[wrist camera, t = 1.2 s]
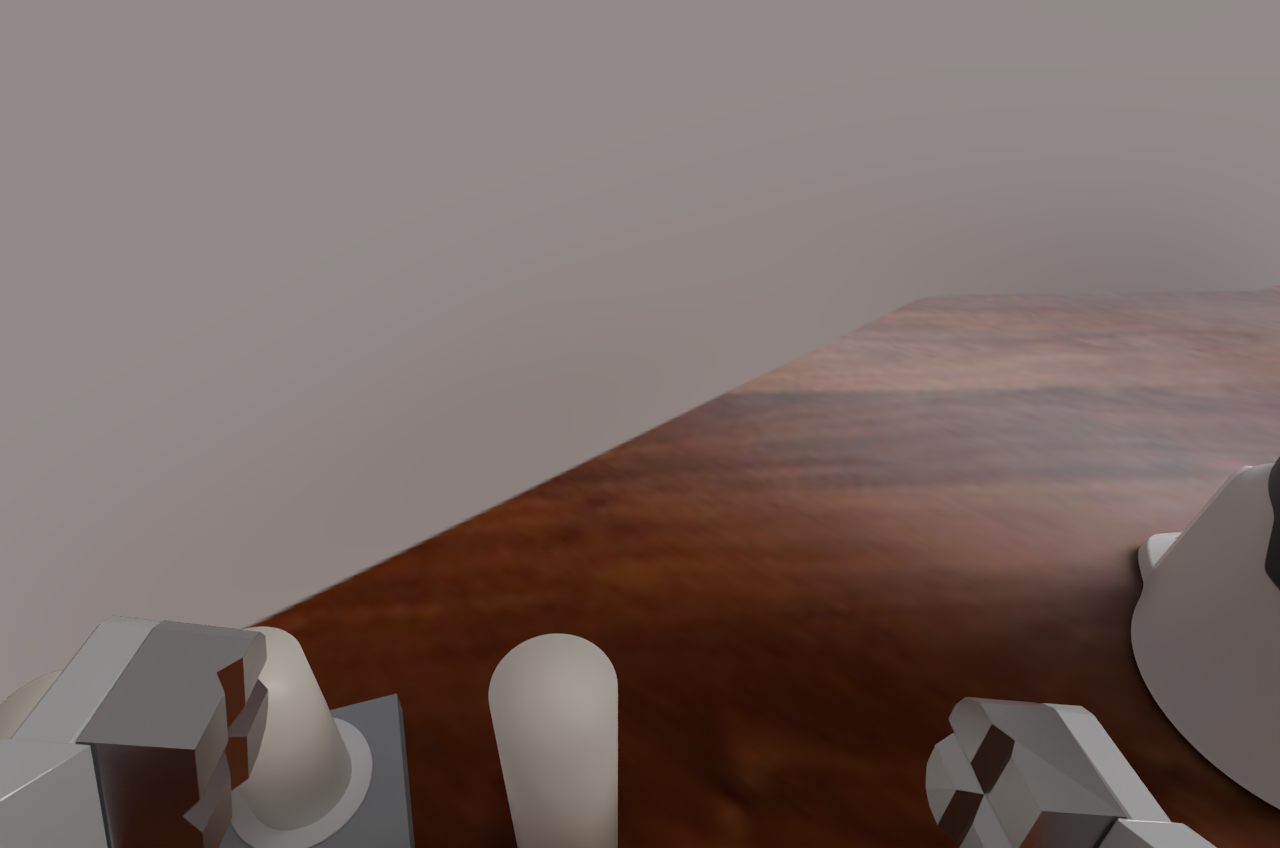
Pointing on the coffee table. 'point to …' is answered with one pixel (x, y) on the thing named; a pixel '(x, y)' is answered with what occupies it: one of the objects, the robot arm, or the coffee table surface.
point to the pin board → (304, 762)
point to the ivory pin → (558, 742)
